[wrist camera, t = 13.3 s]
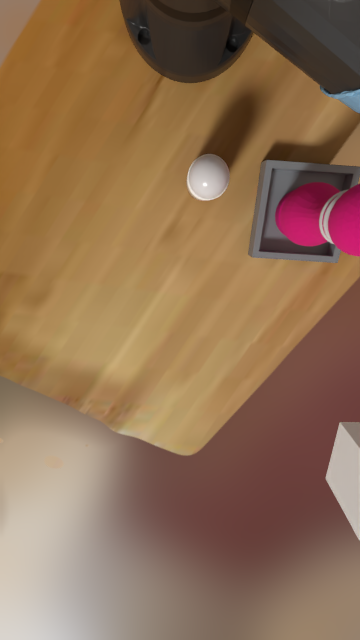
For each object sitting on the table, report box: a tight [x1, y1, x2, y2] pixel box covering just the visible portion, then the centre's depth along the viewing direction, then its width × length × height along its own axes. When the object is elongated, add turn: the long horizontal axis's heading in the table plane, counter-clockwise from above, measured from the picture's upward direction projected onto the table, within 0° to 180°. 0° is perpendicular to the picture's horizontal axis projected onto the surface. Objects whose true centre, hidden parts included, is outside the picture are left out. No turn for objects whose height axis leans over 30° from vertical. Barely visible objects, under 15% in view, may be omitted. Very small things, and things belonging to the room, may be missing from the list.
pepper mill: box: [275, 182, 360, 256], centre depth 30 cm, size 7×7×20 cm
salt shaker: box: [186, 154, 229, 201], centre depth 34 cm, size 4×4×10 cm
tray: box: [248, 160, 360, 263], centre depth 39 cm, size 12×12×2 cm
